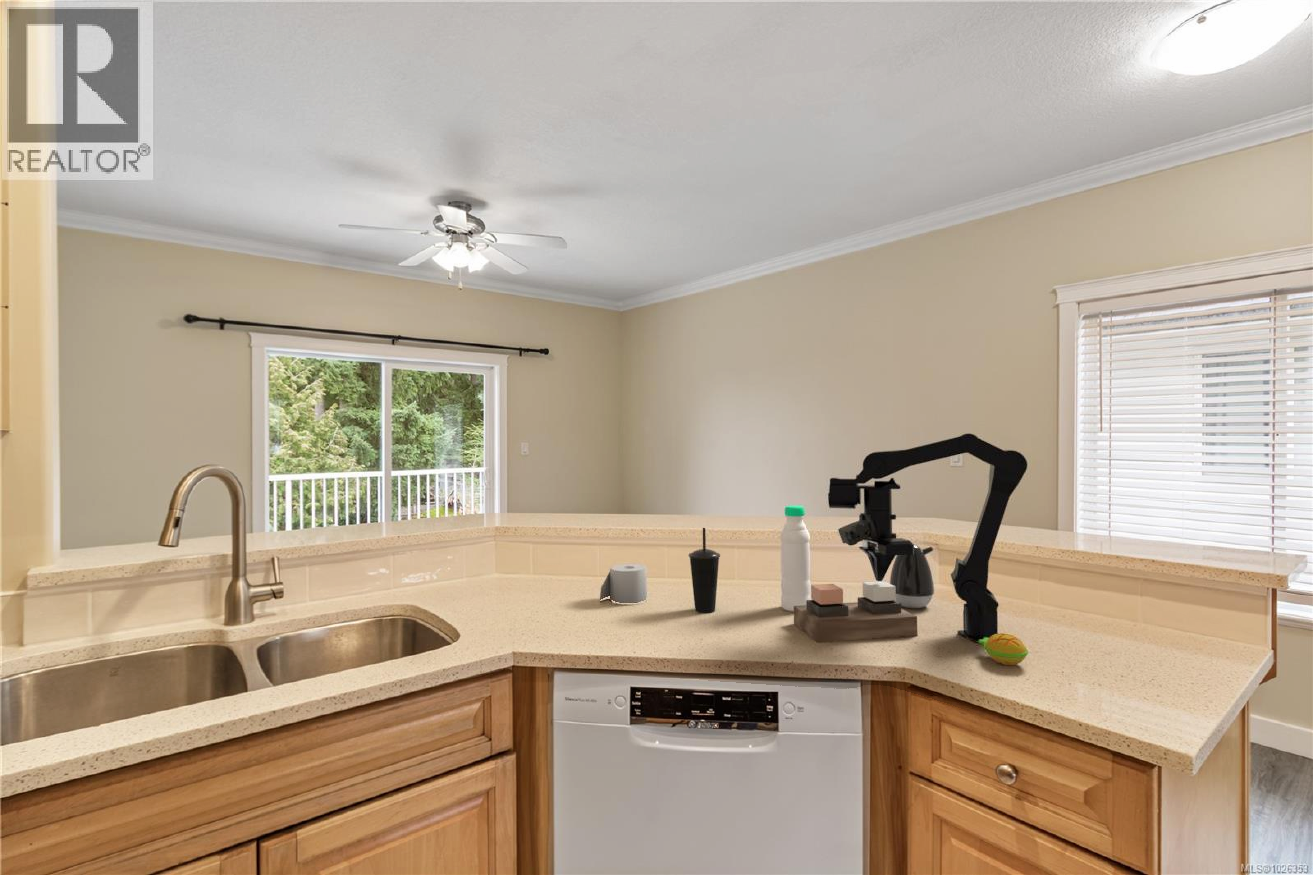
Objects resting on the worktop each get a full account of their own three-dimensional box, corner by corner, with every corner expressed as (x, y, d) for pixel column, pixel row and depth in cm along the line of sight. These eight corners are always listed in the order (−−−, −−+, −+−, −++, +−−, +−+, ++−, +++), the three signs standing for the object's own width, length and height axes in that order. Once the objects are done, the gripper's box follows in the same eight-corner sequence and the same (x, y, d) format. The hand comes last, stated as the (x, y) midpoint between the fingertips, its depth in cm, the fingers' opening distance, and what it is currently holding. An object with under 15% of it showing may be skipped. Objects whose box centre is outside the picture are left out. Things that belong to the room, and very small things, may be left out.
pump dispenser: (942, 611, 148) (942, 547, 148) (898, 611, 149) (898, 547, 148) (924, 599, 159) (924, 540, 159) (883, 600, 159) (882, 540, 159)
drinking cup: (720, 606, 155) (719, 525, 155) (720, 615, 148) (719, 530, 148) (690, 605, 156) (689, 525, 156) (688, 614, 148) (687, 530, 148)
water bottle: (811, 613, 148) (810, 507, 148) (781, 612, 149) (779, 507, 149) (810, 605, 155) (809, 504, 155) (781, 604, 156) (780, 504, 156)
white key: (895, 600, 134) (895, 586, 134) (873, 601, 133) (873, 587, 133) (883, 594, 139) (883, 581, 139) (862, 595, 138) (862, 582, 138)
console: (917, 635, 131) (916, 606, 131) (817, 642, 127) (817, 612, 127) (885, 618, 143) (884, 591, 143) (793, 623, 140) (793, 596, 140)
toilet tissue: (591, 603, 160) (591, 569, 160) (631, 594, 169) (630, 562, 169) (613, 610, 153) (613, 575, 153) (653, 600, 162) (653, 567, 162)
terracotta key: (843, 603, 132) (842, 589, 132) (820, 604, 132) (820, 590, 132) (832, 597, 137) (832, 583, 137) (811, 598, 136) (811, 584, 136)
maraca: (995, 671, 111) (995, 641, 111) (972, 651, 121) (971, 624, 121) (1036, 672, 110) (1036, 641, 110) (1009, 652, 120) (1008, 624, 120)
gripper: (824, 506, 144) (826, 573, 144) (863, 515, 126) (865, 593, 126) (870, 504, 146) (871, 571, 146) (914, 513, 127) (916, 590, 127)
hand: (879, 580), depth 136 cm, fingers closed
